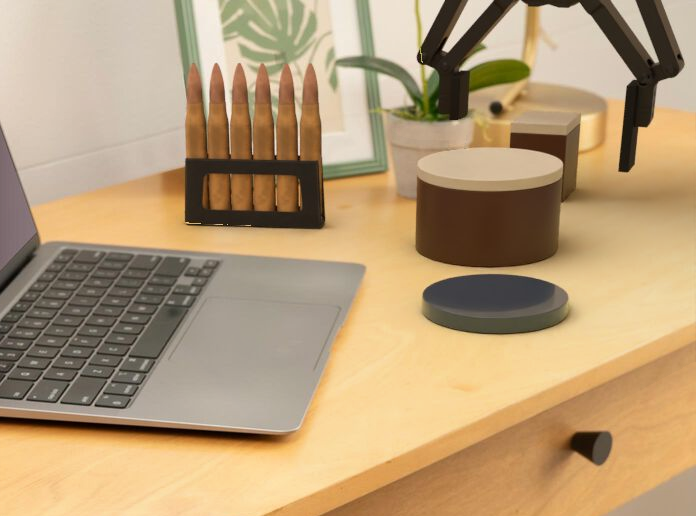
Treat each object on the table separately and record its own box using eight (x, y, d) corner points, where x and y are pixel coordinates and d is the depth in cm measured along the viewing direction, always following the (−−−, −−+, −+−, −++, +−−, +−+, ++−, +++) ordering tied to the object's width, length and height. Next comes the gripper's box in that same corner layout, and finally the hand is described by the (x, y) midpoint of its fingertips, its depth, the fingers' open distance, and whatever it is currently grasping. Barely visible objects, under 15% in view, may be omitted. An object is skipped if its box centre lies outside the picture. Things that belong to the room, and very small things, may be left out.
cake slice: (522, 183, 123) (526, 109, 120) (576, 187, 121) (581, 112, 119) (506, 198, 119) (510, 122, 116) (562, 202, 117) (567, 125, 115)
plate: (524, 281, 99) (524, 267, 99) (594, 322, 91) (596, 306, 91) (398, 298, 97) (399, 283, 97) (460, 341, 89) (461, 325, 89)
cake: (515, 222, 113) (520, 141, 110) (584, 256, 104) (590, 170, 101) (392, 237, 110) (394, 155, 107) (452, 273, 101) (455, 186, 99)
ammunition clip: (184, 224, 116) (177, 64, 110) (190, 218, 117) (184, 60, 112) (321, 228, 113) (320, 65, 108) (325, 222, 115) (325, 61, 109)
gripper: (382, -123, 112) (375, 160, 121) (731, -123, 102) (694, 185, 111) (413, -130, 118) (404, 140, 127) (745, -130, 108) (709, 162, 117)
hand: (539, 162), depth 119 cm, fingers open, 13 cm apart
